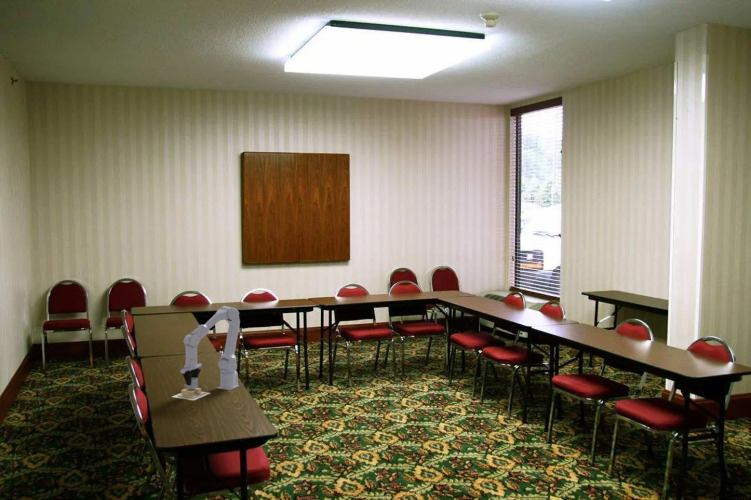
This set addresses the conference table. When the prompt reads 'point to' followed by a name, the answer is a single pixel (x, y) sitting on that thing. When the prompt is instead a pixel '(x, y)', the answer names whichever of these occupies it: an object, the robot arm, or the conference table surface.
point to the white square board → (191, 397)
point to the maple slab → (191, 392)
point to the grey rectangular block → (193, 383)
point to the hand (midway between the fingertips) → (191, 384)
